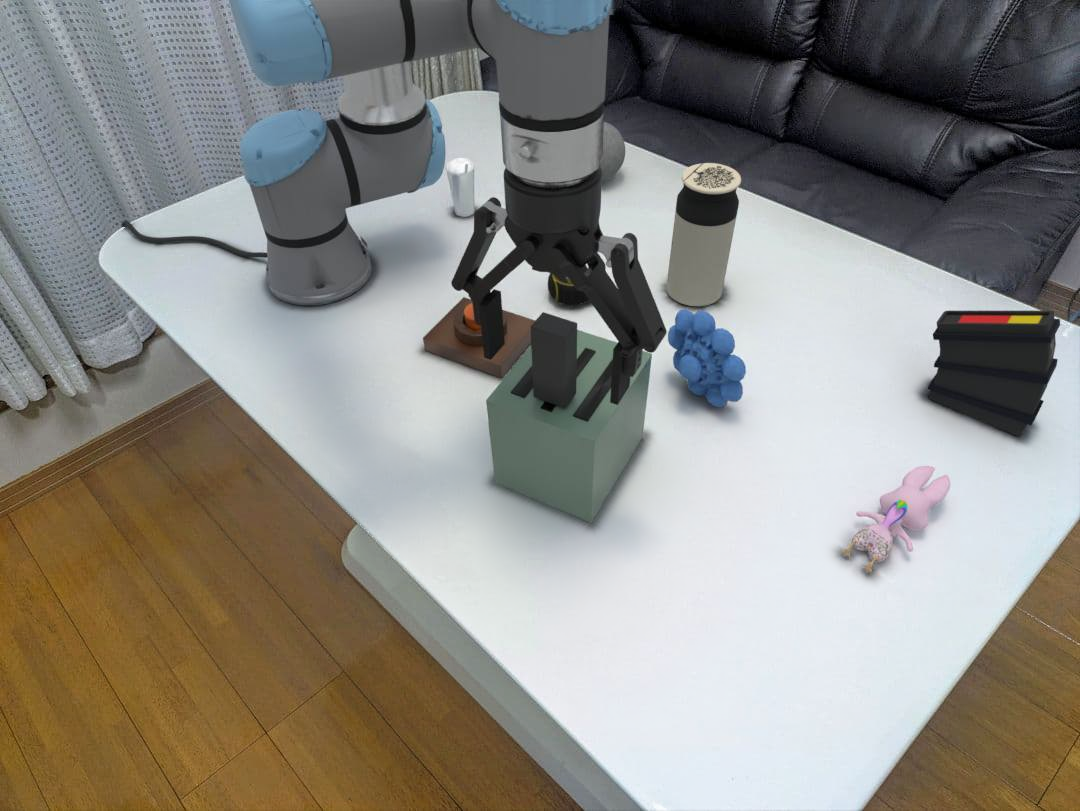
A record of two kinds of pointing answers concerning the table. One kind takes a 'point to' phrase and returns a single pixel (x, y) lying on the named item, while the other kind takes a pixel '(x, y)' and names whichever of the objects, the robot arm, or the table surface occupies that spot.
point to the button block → (478, 340)
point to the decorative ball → (612, 151)
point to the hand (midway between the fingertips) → (555, 372)
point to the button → (470, 318)
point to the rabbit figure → (900, 514)
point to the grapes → (706, 357)
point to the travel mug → (702, 233)
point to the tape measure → (566, 290)
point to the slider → (554, 359)
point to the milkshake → (462, 185)
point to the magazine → (995, 365)
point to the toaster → (567, 431)
